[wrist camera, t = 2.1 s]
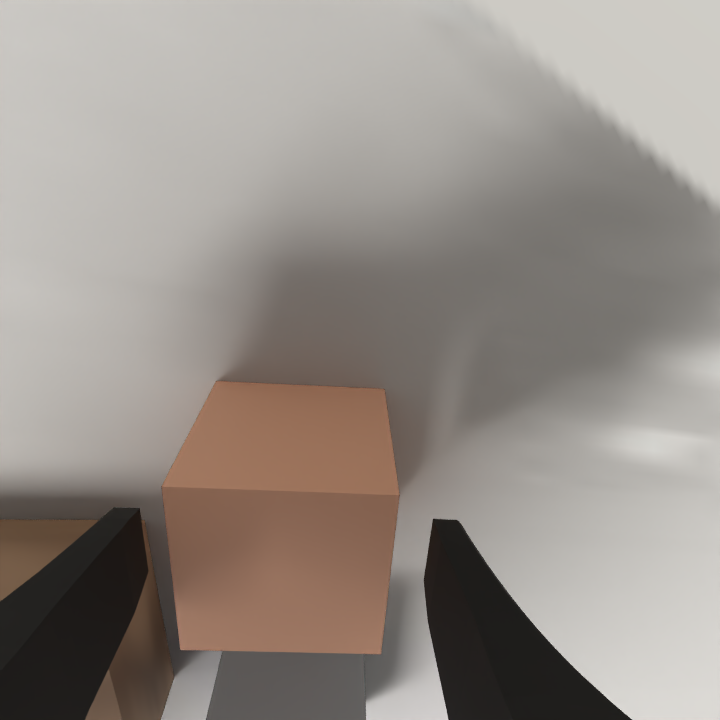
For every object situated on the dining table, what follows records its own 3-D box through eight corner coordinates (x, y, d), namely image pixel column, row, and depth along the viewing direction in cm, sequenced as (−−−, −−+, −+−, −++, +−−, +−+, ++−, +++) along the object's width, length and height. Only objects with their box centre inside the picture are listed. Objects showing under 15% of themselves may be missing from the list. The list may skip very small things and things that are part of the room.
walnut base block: (176, 670, 21) (139, 785, 17) (-27, 671, 21) (-106, 788, 17) (147, 514, 18) (94, 615, 14) (-94, 513, 17) (-211, 615, 14)
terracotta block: (372, 518, 18) (380, 654, 13) (224, 512, 17) (180, 649, 13) (384, 387, 16) (399, 495, 11) (216, 379, 15) (161, 486, 11)
